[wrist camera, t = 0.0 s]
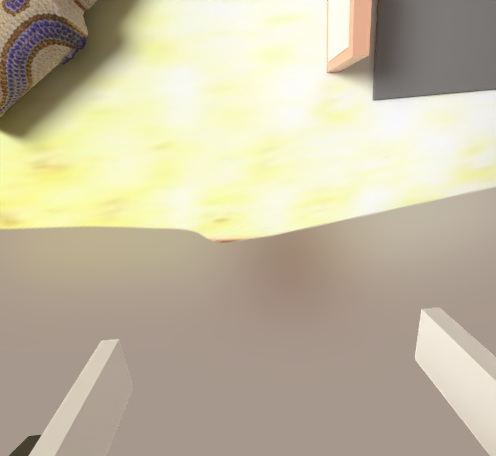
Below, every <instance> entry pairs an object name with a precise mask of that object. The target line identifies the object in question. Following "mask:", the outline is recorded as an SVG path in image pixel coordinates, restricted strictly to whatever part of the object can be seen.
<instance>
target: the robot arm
mask: <svg viewBox="0 0 496 456" xmlns="http://www.w3.org/2000/svg"><path fill="white" fill-rule="evenodd" d="M415 360H416V361H417V363H418V364H419V365H420V366H421V368H422V369H423V370H424V371H425V373H426V374H427V375H428V377H429V378H430V379H431V381H432V382H433V383H434V384H435V386H436V387H437V388H438V390H439V391H440V392H441V393H442V395H443V396H444V397H445V399H446V400H447V401H448V402H449V404H450V405H451V406H452V408H453V409H454V410H455V411H456V413H457V414H458V415H459V416H460V418H461V419H462V420H463V422H464V423H465V424H466V425H467V427H468V428H469V429H470V431H471V432H472V433H473V434H474V436H475V437H476V438H477V440H478V441H479V442H480V443H481V445H482V446H483V447H484V449H485V450H486V451H487V452H488V454H489V455H490V456H496V357H495V356H494V355H493V354H492V353H490V352H489V351H488V350H487V349H486V348H485V347H484V346H482V345H481V344H480V343H479V342H478V341H477V340H476V339H474V338H473V337H472V336H471V335H470V334H469V333H468V332H467V331H465V330H464V329H463V328H462V327H461V326H460V325H459V324H457V323H456V322H455V321H454V320H453V319H451V317H449V316H448V315H447V314H446V313H445V312H444V311H443V310H441V309H440V308H439V307H438V308H427V309H422V310H421V317H420V324H419V331H418V338H417V345H416V353H415ZM132 390H133V384H132V380H131V377H130V374H129V370H128V367H127V363H126V360H125V356H124V353H123V349H122V346H121V343H120V339H112V340H102V341H101V342H100V344H99V345H98V347H97V349H96V350H95V352H94V353H93V355H92V357H91V358H90V360H89V361H88V363H87V364H86V366H85V368H84V369H83V371H82V372H81V374H80V375H79V377H78V379H77V380H76V382H75V383H74V385H73V386H72V388H71V390H70V391H69V393H68V394H67V396H66V398H65V399H64V401H63V402H62V404H61V406H60V407H59V409H58V410H57V412H56V413H55V415H54V416H53V418H52V420H51V421H50V423H49V424H48V426H47V427H46V429H45V431H44V432H43V434H42V435H35V436H29V437H27V438H26V439H25V440H24V441H23V442H22V443H21V445H19V446H18V447H17V448H16V449H15V450H14V451H13V452H12V453H11V454H10V456H106V455H107V453H108V450H109V448H110V445H111V443H112V440H113V438H114V435H115V433H116V430H117V428H118V425H119V422H120V420H121V417H122V415H123V412H124V410H125V407H126V405H127V402H128V400H129V397H130V395H131V392H132Z"/></svg>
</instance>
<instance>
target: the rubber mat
mask: <svg viewBox="0 0 496 456" xmlns="http://www.w3.org/2000/svg"><path fill="white" fill-rule="evenodd" d="M489 89H496V0H378V13H377V31H376V49H375V67H374V85H373V100H378V99H389V98H400V97H411V96H422V95H433V94H444V93H455V92H466V91H477V90H489Z"/></svg>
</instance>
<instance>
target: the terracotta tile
mask: <svg viewBox="0 0 496 456" xmlns="http://www.w3.org/2000/svg"><path fill="white" fill-rule="evenodd" d="M371 10H372V0H327V73H329V72H340V71H342V70H343V69H345V68H347V67H349V66H351V65H353V64H354V63H356V62H358V61H360V60H362V59H363V58H365V57H367V56H369V50H370V30H371Z"/></svg>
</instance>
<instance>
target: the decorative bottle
mask: <svg viewBox="0 0 496 456" xmlns="http://www.w3.org/2000/svg"><path fill="white" fill-rule="evenodd" d="M96 1H97V0H0V117H1V116H2V115H3V114H4V113H5V112H6V111H7V110H8V109H9V108H10V107H11V106H12V105H13V104H15V103H16V102H17V101H18V100H19V99H20V98H21V97H22V96H24V95H25V94H26V93H27V92H28V91H29V90H30V89H31V88H32V87H33V86H35V85H36V84H37V83H38V82H39V81H40V80H42V79H43V78H44V77H45V76H46V75H47V74H48V73H50V72H51V71H52V69H54V68H55V67H56V66H57V65H58V64H65V63H66V62H68V61H69V60H70V59H72V57H73V56H74V55H75V54H76V53H77V52H78V51H79V50H80V49H82V48H84V46H85V44H86V38H87V36H88V30H87V26H86V24H85V20H84V17H83V15H84V12H85V11H86V10H88V9H89V8H91V7H92V6H93V5H94V4H95V3H96ZM81 44H82V46H79V45H81ZM77 47H78V48H77ZM76 48H77V50H75V49H76Z"/></svg>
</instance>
